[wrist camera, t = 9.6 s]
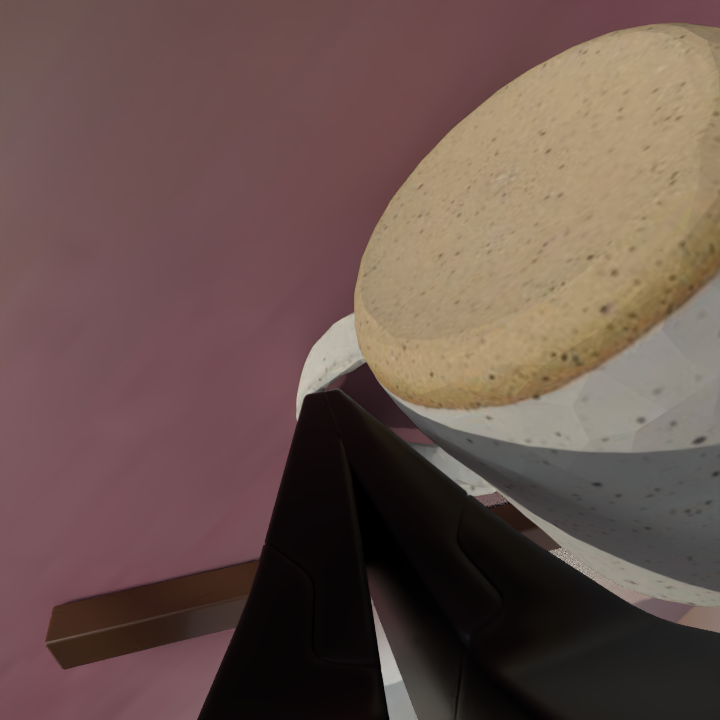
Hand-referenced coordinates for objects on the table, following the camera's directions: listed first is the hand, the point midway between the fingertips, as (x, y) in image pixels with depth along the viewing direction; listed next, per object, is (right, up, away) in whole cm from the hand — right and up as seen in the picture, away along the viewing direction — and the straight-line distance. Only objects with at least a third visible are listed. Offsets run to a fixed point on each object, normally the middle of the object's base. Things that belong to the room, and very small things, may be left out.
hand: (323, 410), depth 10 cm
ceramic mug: (+4, +2, +4) cm, 6 cm away
